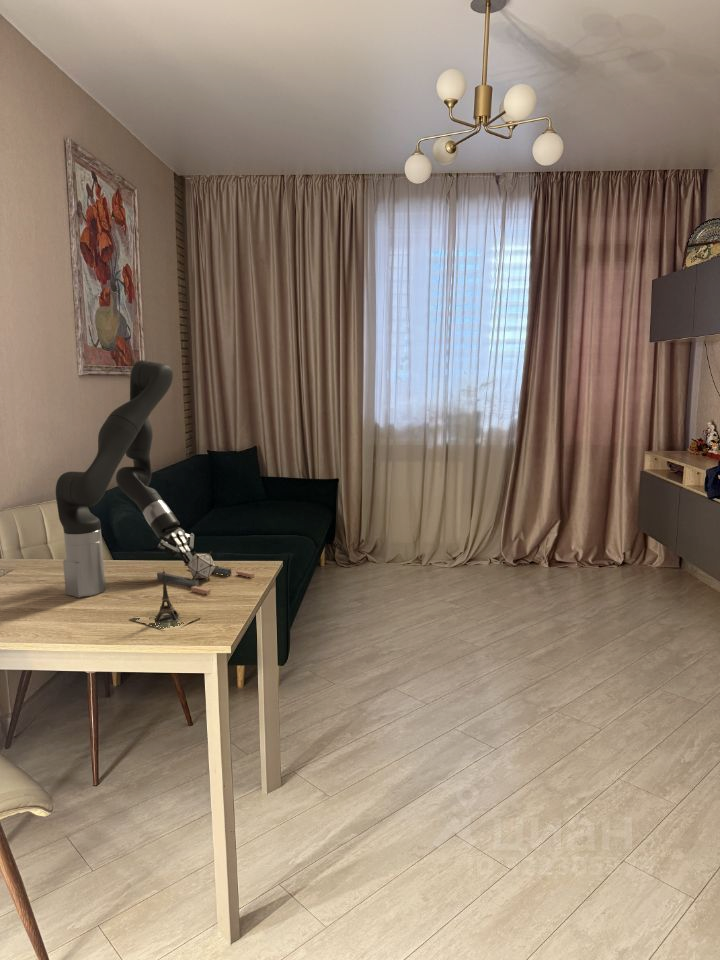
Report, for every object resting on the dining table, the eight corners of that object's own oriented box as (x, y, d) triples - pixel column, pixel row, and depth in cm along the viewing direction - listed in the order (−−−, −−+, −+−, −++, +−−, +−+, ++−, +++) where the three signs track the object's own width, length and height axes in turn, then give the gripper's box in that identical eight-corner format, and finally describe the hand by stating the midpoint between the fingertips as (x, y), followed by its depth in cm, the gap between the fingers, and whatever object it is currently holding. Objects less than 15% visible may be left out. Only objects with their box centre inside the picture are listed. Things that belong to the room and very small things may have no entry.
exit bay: (207, 595, 168) (206, 590, 168) (191, 591, 172) (191, 587, 171) (254, 577, 183) (254, 573, 183) (239, 574, 187) (239, 570, 187)
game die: (209, 589, 184) (228, 560, 186) (198, 588, 176) (218, 558, 177) (185, 573, 186) (204, 544, 187) (173, 571, 178) (194, 541, 179)
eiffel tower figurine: (127, 622, 151) (123, 568, 149) (161, 609, 160) (157, 558, 158) (168, 634, 143) (165, 577, 141) (202, 620, 151) (199, 566, 149)
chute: (195, 588, 174) (195, 581, 174) (157, 579, 183) (156, 573, 182) (231, 575, 185) (231, 569, 185) (194, 567, 194) (193, 561, 194)
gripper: (148, 515, 181) (180, 562, 177) (183, 507, 192) (214, 551, 188) (137, 531, 185) (168, 577, 180) (173, 522, 196) (203, 566, 191)
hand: (191, 564), depth 184 cm, fingers closed
